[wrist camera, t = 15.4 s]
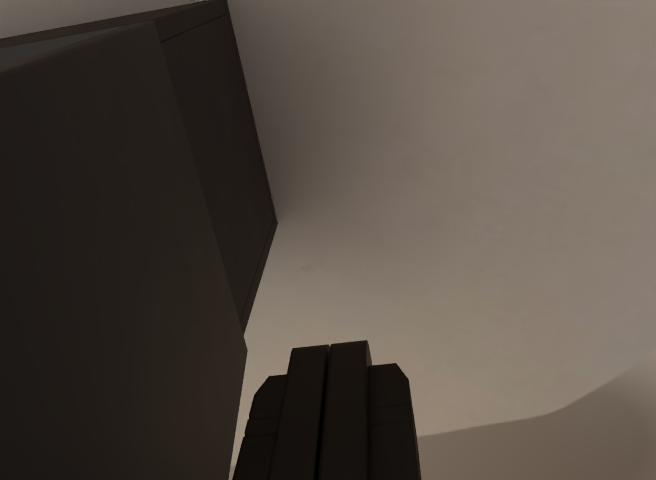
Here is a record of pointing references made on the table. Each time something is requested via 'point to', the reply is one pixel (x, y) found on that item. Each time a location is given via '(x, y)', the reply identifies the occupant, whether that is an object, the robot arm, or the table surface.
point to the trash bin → (202, 127)
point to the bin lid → (109, 275)
